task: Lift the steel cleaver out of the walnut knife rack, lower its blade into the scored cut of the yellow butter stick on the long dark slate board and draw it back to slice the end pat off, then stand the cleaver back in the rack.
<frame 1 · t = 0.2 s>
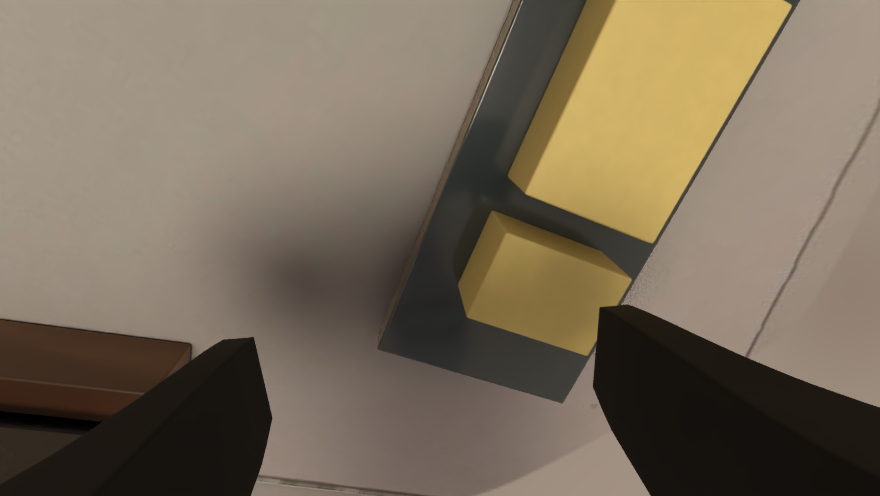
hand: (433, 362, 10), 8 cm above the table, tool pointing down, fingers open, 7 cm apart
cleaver: (52, 365, 18), on the table
butter pat: (529, 267, 17), point 1 cm above the table, touching butter board
butter stick: (614, 99, 15), point 1 cm above the table, touching butter board
knife rack: (52, 365, 18), on the table
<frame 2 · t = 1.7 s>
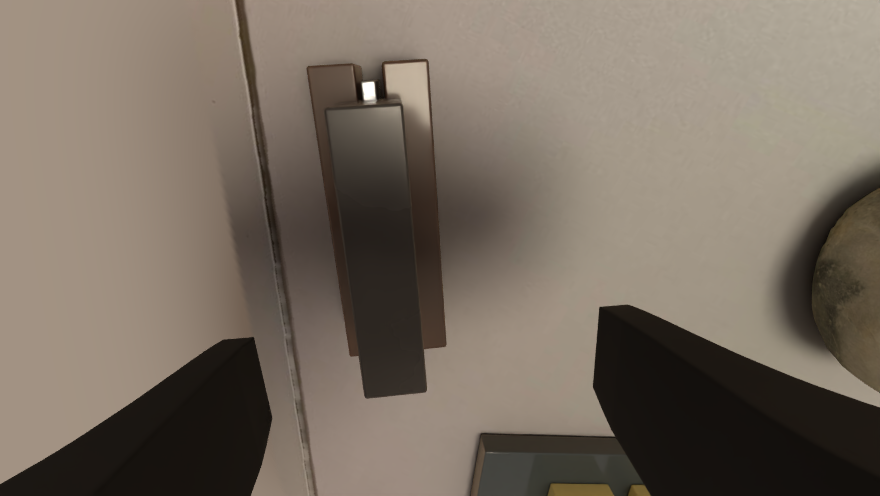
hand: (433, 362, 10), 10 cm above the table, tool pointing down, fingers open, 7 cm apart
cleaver: (386, 201, 18), on the table
knife rack: (386, 201, 18), on the table
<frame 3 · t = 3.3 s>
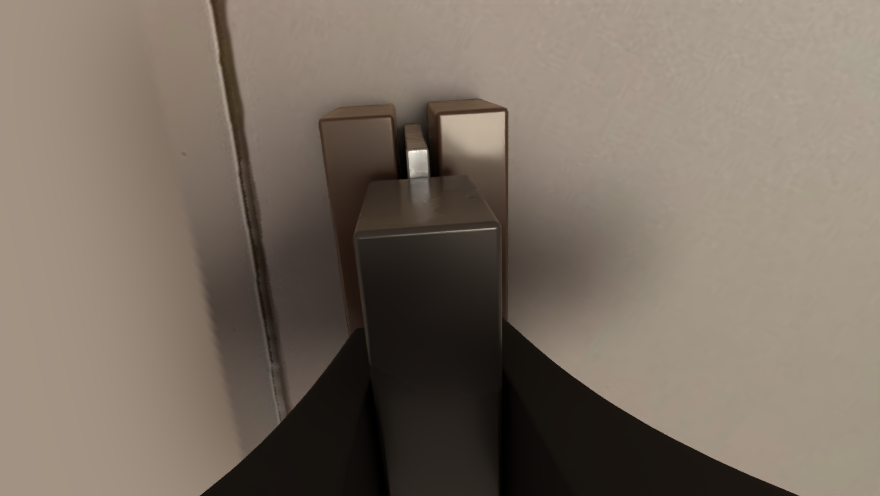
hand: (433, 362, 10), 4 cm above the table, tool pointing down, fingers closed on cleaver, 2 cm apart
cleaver: (423, 284, 13), on the table, touching gripper
knife rack: (424, 284, 13), on the table
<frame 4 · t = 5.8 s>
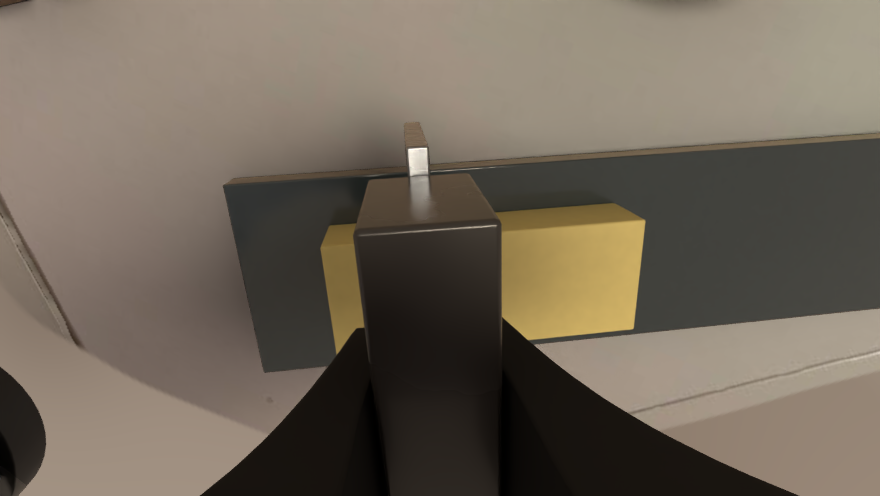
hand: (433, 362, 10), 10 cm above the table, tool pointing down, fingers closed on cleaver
butter board: (775, 228, 21), on the table
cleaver: (423, 283, 13), point 6 cm above the table, touching gripper
butter pat: (374, 275, 18), point 1 cm above the table, touching butter board
butter stick: (527, 261, 19), point 1 cm above the table, touching butter board
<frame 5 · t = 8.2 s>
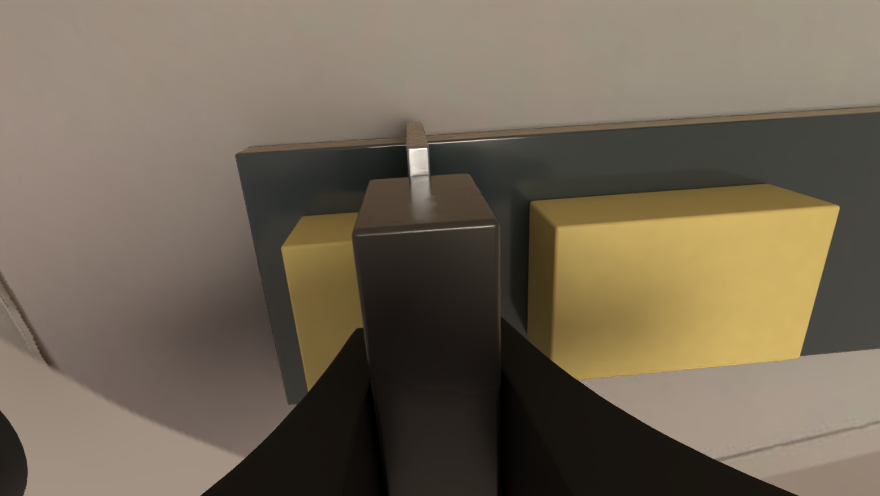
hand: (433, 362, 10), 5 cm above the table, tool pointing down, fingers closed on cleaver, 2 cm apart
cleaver: (425, 283, 13), point 1 cm above the table, touching butter pat, gripper
butter pat: (365, 284, 13), point 1 cm above the table, touching butter board, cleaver
butter stick: (642, 262, 14), point 1 cm above the table, touching butter board
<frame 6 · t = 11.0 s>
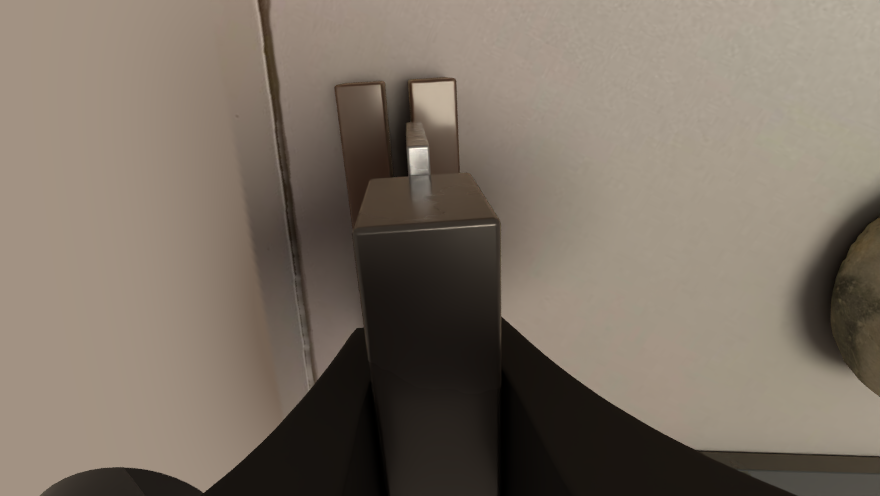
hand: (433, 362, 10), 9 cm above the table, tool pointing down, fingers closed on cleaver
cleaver: (424, 283, 13), point 5 cm above the table, touching gripper
knife rack: (407, 215, 18), on the table
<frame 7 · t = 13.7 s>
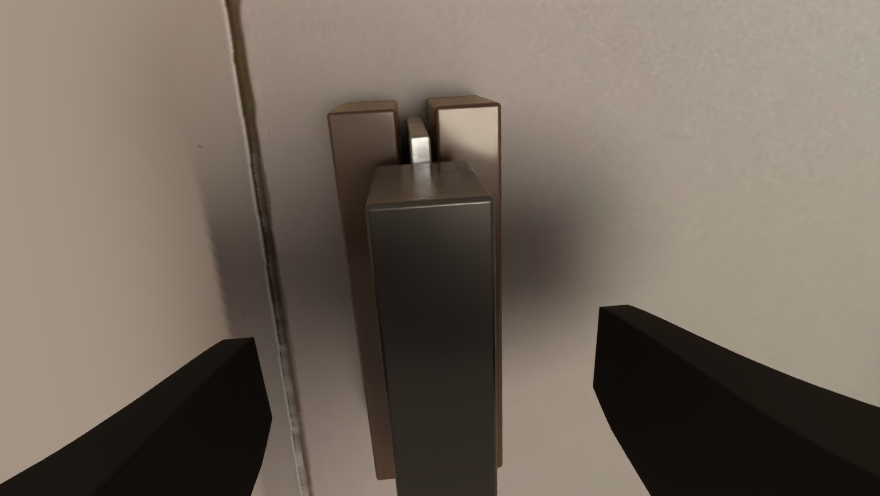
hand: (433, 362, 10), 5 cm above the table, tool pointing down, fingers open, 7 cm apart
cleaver: (424, 269, 14), on the table
knife rack: (423, 271, 14), on the table
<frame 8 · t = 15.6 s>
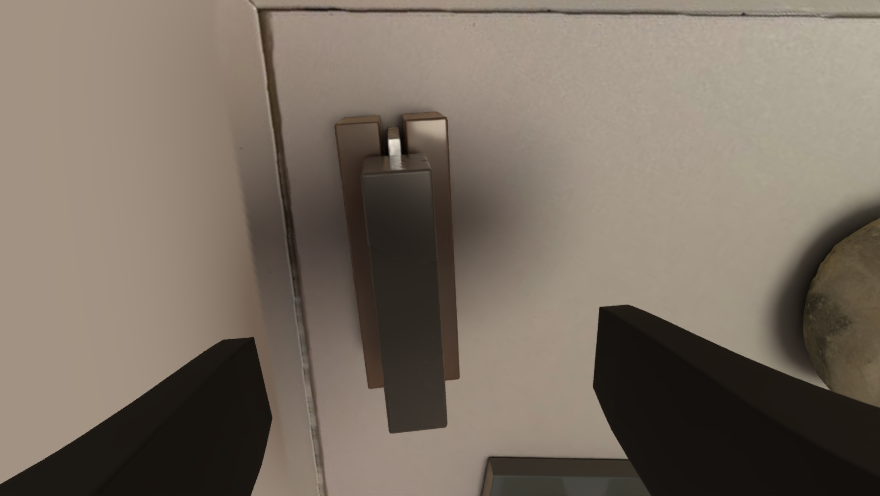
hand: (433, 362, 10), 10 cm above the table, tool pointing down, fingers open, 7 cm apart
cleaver: (402, 238, 19), on the table
stone: (868, 294, 23), on the table
knife rack: (402, 239, 19), on the table
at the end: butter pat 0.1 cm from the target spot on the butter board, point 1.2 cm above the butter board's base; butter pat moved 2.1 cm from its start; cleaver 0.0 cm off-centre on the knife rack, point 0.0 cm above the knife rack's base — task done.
